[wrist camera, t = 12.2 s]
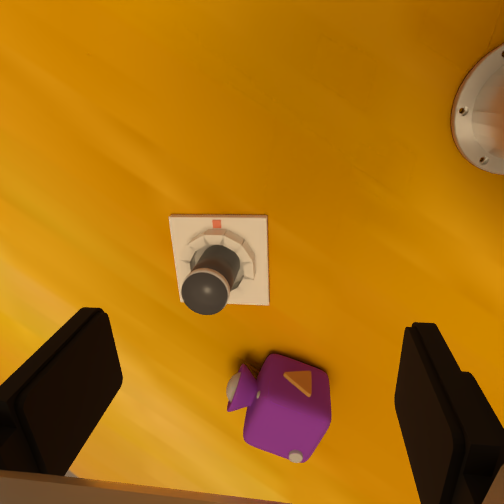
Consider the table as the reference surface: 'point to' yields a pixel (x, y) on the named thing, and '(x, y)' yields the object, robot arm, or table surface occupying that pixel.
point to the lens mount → (233, 237)
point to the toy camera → (282, 406)
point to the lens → (211, 280)
